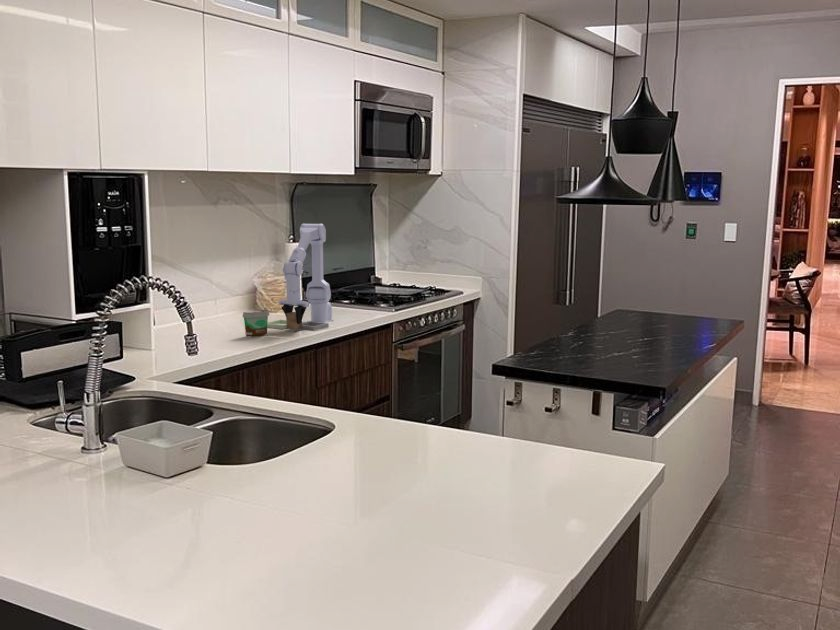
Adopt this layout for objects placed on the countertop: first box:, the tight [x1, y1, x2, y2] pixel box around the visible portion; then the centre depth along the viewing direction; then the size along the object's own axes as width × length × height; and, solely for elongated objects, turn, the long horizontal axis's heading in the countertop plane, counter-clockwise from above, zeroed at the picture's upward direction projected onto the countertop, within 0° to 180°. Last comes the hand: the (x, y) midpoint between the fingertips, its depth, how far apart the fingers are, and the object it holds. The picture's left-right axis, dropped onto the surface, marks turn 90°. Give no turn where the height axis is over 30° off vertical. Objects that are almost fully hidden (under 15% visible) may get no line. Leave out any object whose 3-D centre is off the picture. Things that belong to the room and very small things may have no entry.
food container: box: [242, 308, 270, 338], centre depth 337 cm, size 12×6×10 cm, turn 143°
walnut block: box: [285, 311, 303, 330], centre depth 345 cm, size 4×4×6 cm
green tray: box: [267, 318, 288, 330], centre depth 357 cm, size 12×12×2 cm
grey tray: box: [300, 321, 329, 332], centre depth 352 cm, size 10×10×2 cm
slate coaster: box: [284, 329, 304, 333], centre depth 346 cm, size 6×6×1 cm
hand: (294, 323), depth 345 cm, fingers closed on walnut block, 4 cm apart
